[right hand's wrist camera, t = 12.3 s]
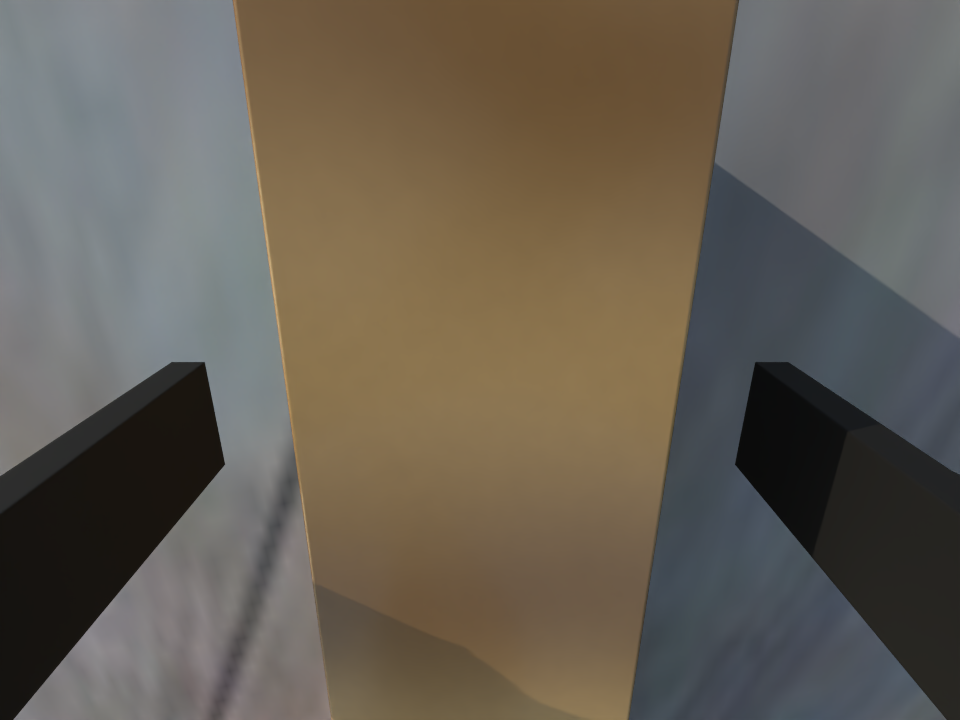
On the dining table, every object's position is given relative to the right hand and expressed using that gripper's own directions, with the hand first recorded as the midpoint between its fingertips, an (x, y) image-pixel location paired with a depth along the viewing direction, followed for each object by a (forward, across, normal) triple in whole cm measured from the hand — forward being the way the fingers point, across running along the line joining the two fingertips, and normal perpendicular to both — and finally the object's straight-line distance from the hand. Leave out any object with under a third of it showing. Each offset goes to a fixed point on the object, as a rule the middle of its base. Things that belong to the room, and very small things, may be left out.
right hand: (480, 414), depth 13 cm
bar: (+3, 0, -18) cm, 18 cm away
